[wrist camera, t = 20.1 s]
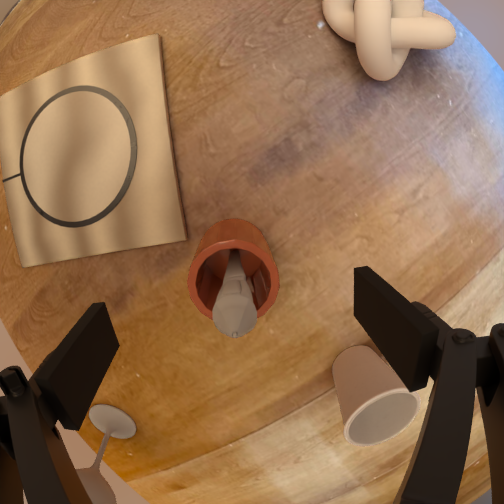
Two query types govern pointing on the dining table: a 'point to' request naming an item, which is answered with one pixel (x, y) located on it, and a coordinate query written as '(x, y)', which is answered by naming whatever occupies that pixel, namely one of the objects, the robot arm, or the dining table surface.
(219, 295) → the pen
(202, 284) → the pen pot
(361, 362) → the dixie cup
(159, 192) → the drawing board
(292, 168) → the dining table surface
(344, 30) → the beige decorative knot
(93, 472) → the wineglass
